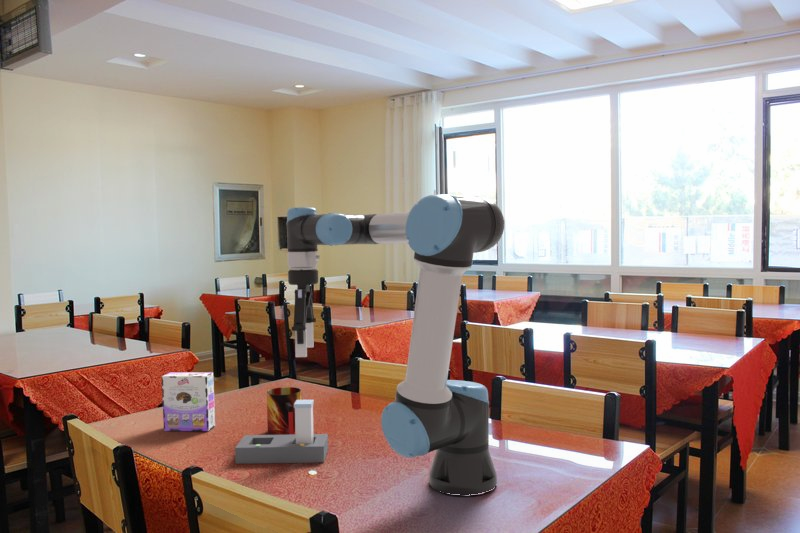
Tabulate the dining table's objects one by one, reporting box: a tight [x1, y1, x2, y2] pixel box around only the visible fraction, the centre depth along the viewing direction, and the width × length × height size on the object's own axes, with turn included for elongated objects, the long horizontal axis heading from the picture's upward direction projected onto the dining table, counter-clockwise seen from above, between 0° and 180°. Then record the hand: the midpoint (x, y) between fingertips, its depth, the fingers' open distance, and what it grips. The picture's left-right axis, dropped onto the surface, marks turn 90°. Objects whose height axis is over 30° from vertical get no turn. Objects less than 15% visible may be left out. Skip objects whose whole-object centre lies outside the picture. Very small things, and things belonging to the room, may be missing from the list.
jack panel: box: [234, 433, 329, 464], centre depth 163 cm, size 10×22×4 cm, turn 90°
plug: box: [294, 399, 315, 444], centre depth 163 cm, size 4×4×14 cm
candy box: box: [161, 371, 216, 432], centre depth 188 cm, size 14×6×16 cm, turn 84°
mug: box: [266, 386, 302, 435], centre depth 182 cm, size 10×14×12 cm
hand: (305, 352), depth 162 cm, fingers open, 13 cm apart
